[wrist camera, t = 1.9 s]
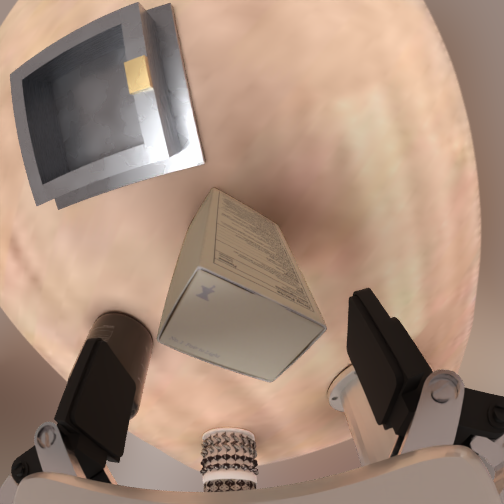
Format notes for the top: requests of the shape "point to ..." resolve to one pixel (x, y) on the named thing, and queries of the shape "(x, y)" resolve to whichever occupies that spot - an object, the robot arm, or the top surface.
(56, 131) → the socket
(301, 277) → the skincare box
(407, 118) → the top surface
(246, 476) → the decorative candle
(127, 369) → the supplement bottle
